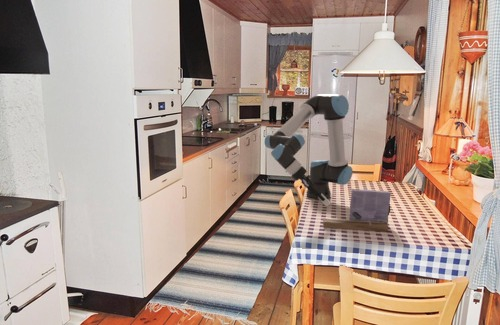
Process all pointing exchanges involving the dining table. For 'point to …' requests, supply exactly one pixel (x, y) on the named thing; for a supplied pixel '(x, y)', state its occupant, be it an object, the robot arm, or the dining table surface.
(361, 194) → the cake pan box
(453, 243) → the dining table surface
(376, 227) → the walnut board
